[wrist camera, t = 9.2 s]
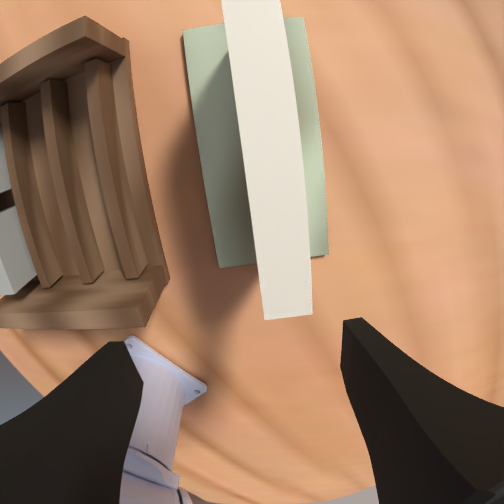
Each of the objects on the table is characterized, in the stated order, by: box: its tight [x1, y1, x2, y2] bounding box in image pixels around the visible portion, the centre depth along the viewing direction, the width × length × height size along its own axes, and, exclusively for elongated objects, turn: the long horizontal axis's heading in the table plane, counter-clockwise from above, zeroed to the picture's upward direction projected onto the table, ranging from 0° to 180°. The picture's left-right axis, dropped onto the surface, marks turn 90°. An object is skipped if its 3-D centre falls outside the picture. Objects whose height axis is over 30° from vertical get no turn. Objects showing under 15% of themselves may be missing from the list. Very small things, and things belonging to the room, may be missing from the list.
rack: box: [0, 16, 329, 329], centre depth 14 cm, size 24×16×6 cm, turn 97°
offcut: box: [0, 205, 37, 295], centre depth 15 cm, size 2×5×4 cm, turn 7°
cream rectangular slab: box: [221, 0, 313, 320], centre depth 12 cm, size 2×12×8 cm, turn 7°
